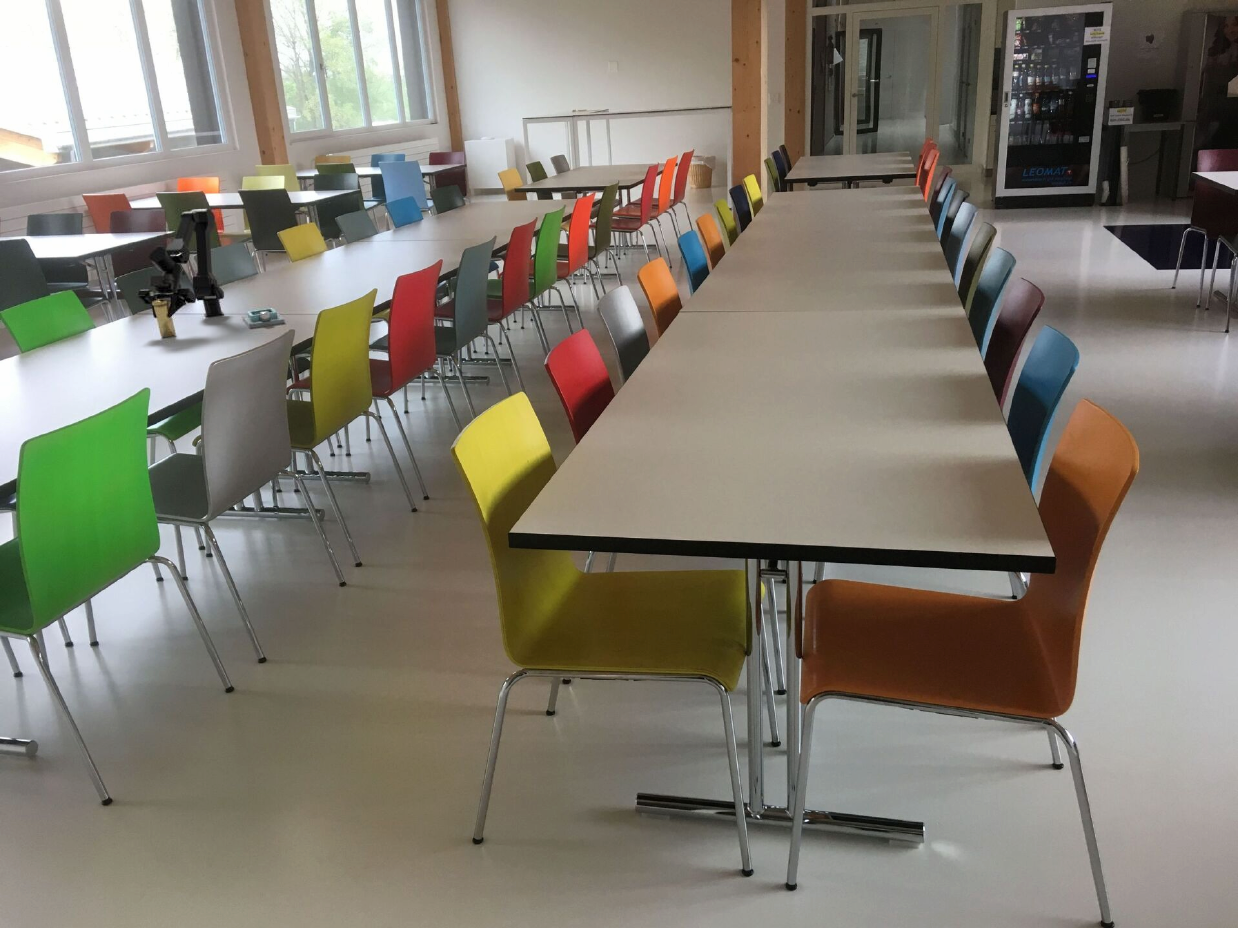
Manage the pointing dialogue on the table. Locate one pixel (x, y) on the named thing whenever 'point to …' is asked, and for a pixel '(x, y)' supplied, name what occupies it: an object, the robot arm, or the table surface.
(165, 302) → the brass fitting
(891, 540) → the table surface
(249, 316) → the manifold board
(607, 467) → the table surface
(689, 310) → the table surface
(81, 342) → the table surface
